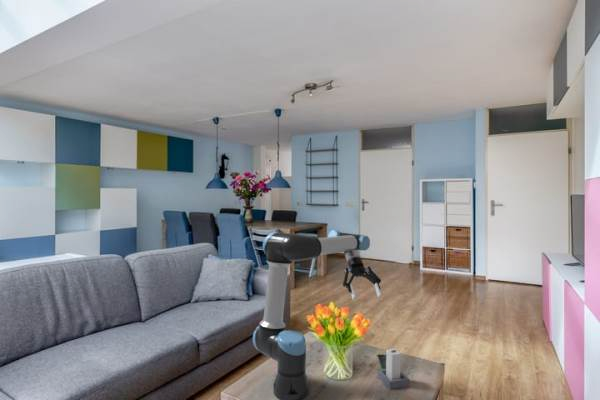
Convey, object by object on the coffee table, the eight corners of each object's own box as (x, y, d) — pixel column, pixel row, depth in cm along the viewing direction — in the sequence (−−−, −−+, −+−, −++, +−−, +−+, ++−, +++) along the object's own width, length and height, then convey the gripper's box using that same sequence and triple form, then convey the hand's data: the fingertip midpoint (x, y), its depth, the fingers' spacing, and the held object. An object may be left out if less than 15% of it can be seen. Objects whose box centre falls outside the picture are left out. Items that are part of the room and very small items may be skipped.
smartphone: (381, 368, 165) (376, 354, 180) (381, 370, 165) (376, 355, 180) (397, 369, 164) (391, 354, 179) (397, 371, 164) (391, 356, 179)
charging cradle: (389, 389, 149) (389, 382, 149) (377, 376, 159) (377, 370, 159) (409, 385, 151) (409, 378, 151) (396, 373, 161) (396, 367, 161)
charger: (392, 382, 152) (392, 353, 152) (386, 376, 157) (386, 348, 157) (400, 381, 153) (400, 352, 153) (394, 375, 158) (394, 347, 158)
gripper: (373, 263, 192) (387, 298, 178) (330, 265, 185) (341, 302, 171) (378, 255, 187) (392, 291, 173) (334, 257, 180) (345, 295, 166)
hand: (367, 297), depth 172 cm, fingers open, 13 cm apart
